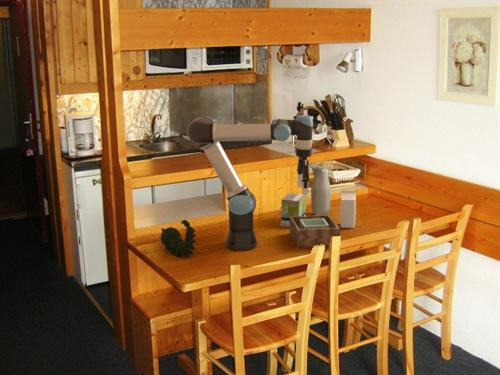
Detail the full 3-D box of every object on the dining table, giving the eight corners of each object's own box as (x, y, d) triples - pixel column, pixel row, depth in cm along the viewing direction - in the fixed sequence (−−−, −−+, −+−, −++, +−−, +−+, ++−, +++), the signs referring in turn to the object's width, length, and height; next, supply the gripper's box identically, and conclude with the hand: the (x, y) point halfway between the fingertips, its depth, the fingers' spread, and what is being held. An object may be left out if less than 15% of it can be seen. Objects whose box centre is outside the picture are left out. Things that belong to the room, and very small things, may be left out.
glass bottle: (316, 212, 369) (317, 163, 362) (333, 214, 363) (334, 165, 356) (307, 216, 361) (308, 166, 354) (324, 219, 355) (324, 168, 348)
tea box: (299, 228, 341) (299, 200, 338) (280, 226, 344) (280, 199, 341) (306, 220, 355) (306, 193, 351) (288, 218, 358) (288, 192, 354)
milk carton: (354, 228, 340) (355, 192, 335) (340, 227, 341) (341, 192, 337) (354, 224, 347) (355, 189, 342) (341, 223, 348) (342, 188, 343)
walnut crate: (298, 248, 312) (298, 230, 309) (289, 233, 333) (289, 216, 331) (339, 246, 314) (339, 228, 312) (328, 231, 335) (329, 214, 333)
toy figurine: (200, 260, 303) (169, 242, 321) (201, 221, 297) (170, 205, 315) (183, 265, 297) (153, 246, 315) (183, 226, 291) (153, 209, 309)
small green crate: (304, 242, 317) (304, 226, 315) (299, 234, 328) (299, 219, 326) (328, 240, 318) (328, 225, 316) (323, 233, 329) (323, 218, 327)
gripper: (316, 153, 304) (314, 197, 309) (307, 142, 328) (305, 184, 333) (300, 153, 303) (298, 197, 308) (292, 143, 327) (290, 184, 333)
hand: (302, 190), depth 321 cm, fingers open, 13 cm apart
